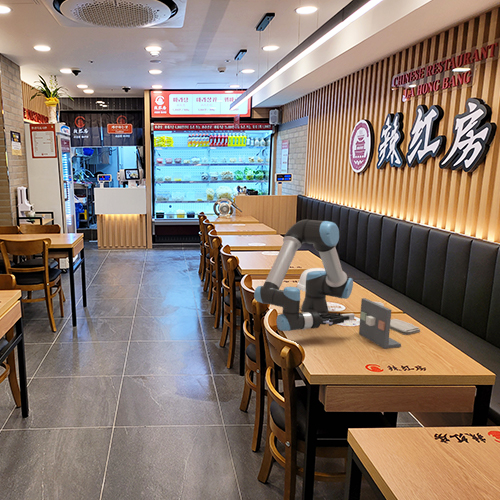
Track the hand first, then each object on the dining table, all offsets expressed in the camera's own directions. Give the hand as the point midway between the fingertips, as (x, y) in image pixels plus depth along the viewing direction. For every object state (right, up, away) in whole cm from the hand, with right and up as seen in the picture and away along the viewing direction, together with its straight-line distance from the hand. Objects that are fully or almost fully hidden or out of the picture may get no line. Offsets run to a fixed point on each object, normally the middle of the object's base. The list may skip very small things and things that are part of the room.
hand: (353, 316), depth 209 cm
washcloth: (+28, -9, +17) cm, 34 cm away
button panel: (+12, -11, -1) cm, 16 cm away
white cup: (+18, -7, +27) cm, 33 cm away
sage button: (+7, -2, +3) cm, 7 cm away
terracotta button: (+11, -4, -10) cm, 16 cm away
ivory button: (+7, -3, -4) cm, 9 cm away
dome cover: (-2, +4, +97) cm, 97 cm away
